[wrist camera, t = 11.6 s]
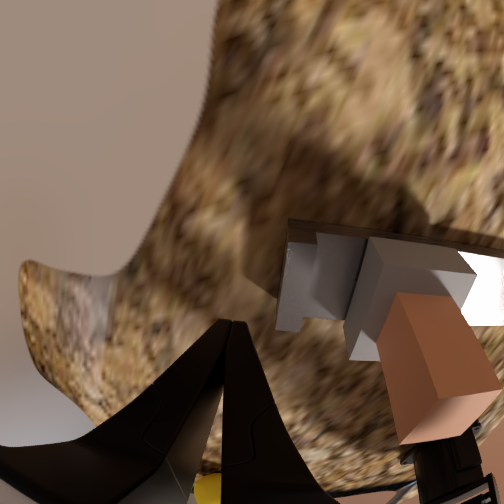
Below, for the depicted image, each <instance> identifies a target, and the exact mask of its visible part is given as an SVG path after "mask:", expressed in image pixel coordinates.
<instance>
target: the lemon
mask: <svg viewBox="0 0 504 504" xmlns="http://www.w3.org/2000/svg"><path fill="white" fill-rule="evenodd" d="M194 495H195V499H196V501H197V503H198V504H220V503H221V473H212V474H209V475H206V476H204V477H202V478H201V479H199V480H198V481H197V482H196V483H195V485H194Z"/></svg>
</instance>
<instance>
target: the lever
mask: <svg viewBox="0 0 504 504" xmlns="http://www.w3.org/2000/svg"><path fill="white" fill-rule="evenodd" d="M476 278H477V273H476V272H475V271H474V270H473V269H472V267H471V266H470V265H469V264H468V263H467V261H466V260H465V259H464V258H463V257H462V256H461V254H460V253H459V252H458V251H457V250H456V249H455V248H448V247H442V246H435V245H428V244H422V243H415V242H408V241H401V240H394V239H386V238H379V237H371V236H369V240H368V244H367V248H366V252H365V256H364V259H363V263H362V267H361V270H360V274H359V277H358V281H357V284H356V287H355V291H354V294H353V297H352V301H351V304H350V307H349V310H348V313H347V316H346V319H345V322H344V325H343V329H344V334H345V340H346V345H347V351H348V357H349V360H357V361H381V365H382V369H383V373H384V377H385V382H386V386H387V390H388V394H389V399H390V403H391V408H392V413H393V417H394V422H395V427H396V432H397V438H398V443H399V445H402V444H411V443H418V442H425V441H432V440H438V439H444V438H449V437H455V436H460V435H461V434H462V433H463V432H464V431H465V430H466V429H467V428H468V427H469V426H470V425H471V424H472V423H473V422H474V421H475V420H476V419H477V418H478V417H479V416H480V415H481V414H482V413H483V412H484V411H485V409H486V408H487V407H488V406H489V405H490V404H491V403H492V402H493V400H494V399H495V398H496V397H497V396H498V394H499V393H500V392H501V391H502V390H503V389H502V386H501V384H500V382H499V380H498V378H497V376H496V374H495V372H494V370H493V368H492V366H491V364H490V362H489V360H488V358H487V356H486V354H485V352H484V350H483V349H482V347H481V345H480V343H479V341H478V339H477V338H476V336H475V334H474V332H473V331H472V329H471V327H470V325H469V324H468V322H467V320H466V319H465V317H464V315H463V314H462V312H461V310H462V308H463V306H464V304H465V302H466V300H467V297H468V295H469V293H470V291H471V289H472V287H473V284H474V282H475V280H476Z"/></svg>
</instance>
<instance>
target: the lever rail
mask: <svg viewBox="0 0 504 504" xmlns="http://www.w3.org/2000/svg"><path fill="white" fill-rule="evenodd" d="M369 236H371V237H379V238H386V239H394V240H401V241H408V242H415V243H422V244H428V245H435V246H442V247H448V248H455V249H456V250H457V251H458V252H459V253H460V254H461V256H462V257H463V258H464V259H465V260H466V261H467V263H468V264H469V265H470V266H471V267H472V269H473V270H474V271H475V272H476V273H477V278H476V280H475V282H474V284H473V287H472V289H471V291H470V293H469V295H468V297H467V300H466V302H465V304H464V306H463V308H462V310H461V312H462V314H463V315H464V317H465V319H466V320H467V322H468V324H469V325H470V326H497V325H504V250H498V249H493V248H487V247H482V246H476V245H470V244H465V243H459V242H453V241H447V240H441V239H434V238H428V237H422V236H415V235H409V234H402V233H395V232H388V231H381V230H374V229H367V228H360V227H352V226H345V225H337V224H329V223H321V222H313V221H304V220H296V219H288V225H287V233H286V240H285V248H284V255H283V262H282V269H281V276H280V283H279V290H278V297H277V309H276V326H275V330H281V331H291V332H300V329H301V324H302V320H303V317H310V318H321V319H333V320H345V319H346V316H347V313H348V310H349V307H350V304H351V301H352V297H353V294H354V291H355V287H356V284H357V281H358V277H359V274H360V270H361V267H362V263H363V259H364V256H365V252H366V248H367V244H368V240H369Z"/></svg>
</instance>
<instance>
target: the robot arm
mask: <svg viewBox="0 0 504 504" xmlns="http://www.w3.org/2000/svg"><path fill="white" fill-rule="evenodd" d="M223 389H224V390H223ZM222 393H223V422H222V465H221V467H222V469H221V503H220V504H340V503H339V502H338V501H336V500H335V499H334V498H332V497H331V496H330V495H329V494H328V493H326V492H325V491H324V490H323V489H322V488H321V486H320V485H319V484H318V483H317V481H316V480H315V478H314V477H313V475H312V474H311V472H310V470H309V469H308V467H307V465H306V464H305V462H304V460H303V459H302V457H301V455H300V454H299V452H298V450H297V448H296V447H295V445H294V443H293V441H292V440H291V438H290V436H289V434H288V432H287V430H286V428H285V426H284V423H283V421H282V419H281V416H280V414H279V411H278V408H277V406H276V404H275V401H274V398H273V395H272V393H271V390H270V387H269V384H268V382H267V379H266V376H265V373H264V371H263V368H262V365H261V362H260V359H259V357H258V354H257V351H256V348H255V345H254V342H253V340H252V337H251V334H250V331H249V328H248V325H247V323H246V322H244V321H236V320H234V321H233V322H232V320H229V319H218V320H217V321H216V322H215V323H214V324H213V325H212V326H211V327H210V328H209V329H208V330H207V331H206V332H205V333H204V334H203V335H202V336H201V337H200V338H199V339H198V340H197V341H196V342H195V343H194V344H192V345H191V346H190V347H189V348H188V349H187V350H186V351H185V352H184V353H183V354H182V355H181V356H180V357H179V358H178V359H177V360H176V361H175V362H174V363H173V364H172V365H171V366H170V367H169V368H168V369H167V370H165V371H164V372H163V373H162V374H161V375H160V376H159V377H158V378H157V379H156V380H155V381H154V382H153V384H151V385H150V386H148V387H147V388H146V389H145V390H144V391H143V392H142V393H141V394H140V395H139V396H138V397H136V398H135V399H134V400H133V401H132V402H131V403H129V404H128V405H127V406H125V407H124V408H123V409H121V410H120V411H119V412H117V413H116V414H114V415H113V416H112V417H110V418H109V419H107V420H106V421H105V422H103V423H102V424H100V425H99V426H97V427H96V428H95V429H93V430H92V431H90V432H89V433H87V434H85V435H84V436H82V437H80V438H77V439H75V440H72V441H67V442H61V443H54V444H45V445H35V446H24V447H6V446H1V445H0V504H187V501H188V499H189V496H190V493H191V489H192V486H193V483H194V480H195V477H196V474H197V471H198V468H199V465H200V462H201V459H202V456H203V453H204V449H205V446H206V443H207V440H208V437H209V434H210V431H211V427H212V424H213V421H214V418H215V415H216V412H217V409H218V405H219V402H220V399H221V396H222ZM480 428H481V423H475V424H471V425H470V426H469V427H468V428H467V429H466V430H465V431H464V432H463V433H462V434H461V435H460V436H455V437H449V438H444V439H438V440H432V441H425V442H419V443H418V444H417V445H416V446H415V447H414V448H413V449H412V450H411V451H410V452H409V453H408V454H407V455H406V456H404V457H403V458H402V459H401V460H400V464H401V465H406V464H412V463H414V469H415V474H416V480H417V487H418V494H419V501H420V504H455V503H458V502H460V501H462V500H464V499H467V498H469V497H471V496H473V495H475V494H477V493H479V492H481V491H483V490H485V489H487V488H489V492H487V493H485V494H480V495H478V496H476V497H474V498H472V499H470V500H467V501H465V502H463V503H461V504H501V503H500V496H499V491H498V487H497V484H496V480H495V477H494V476H493V474H492V473H490V474H488V475H486V477H484V476H483V472H482V468H481V463H482V460H481V456H480V453H479V449H478V446H477V443H476V439H475V436H474V434H475V433H476V432H477V431H478V430H479V429H480Z"/></svg>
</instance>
